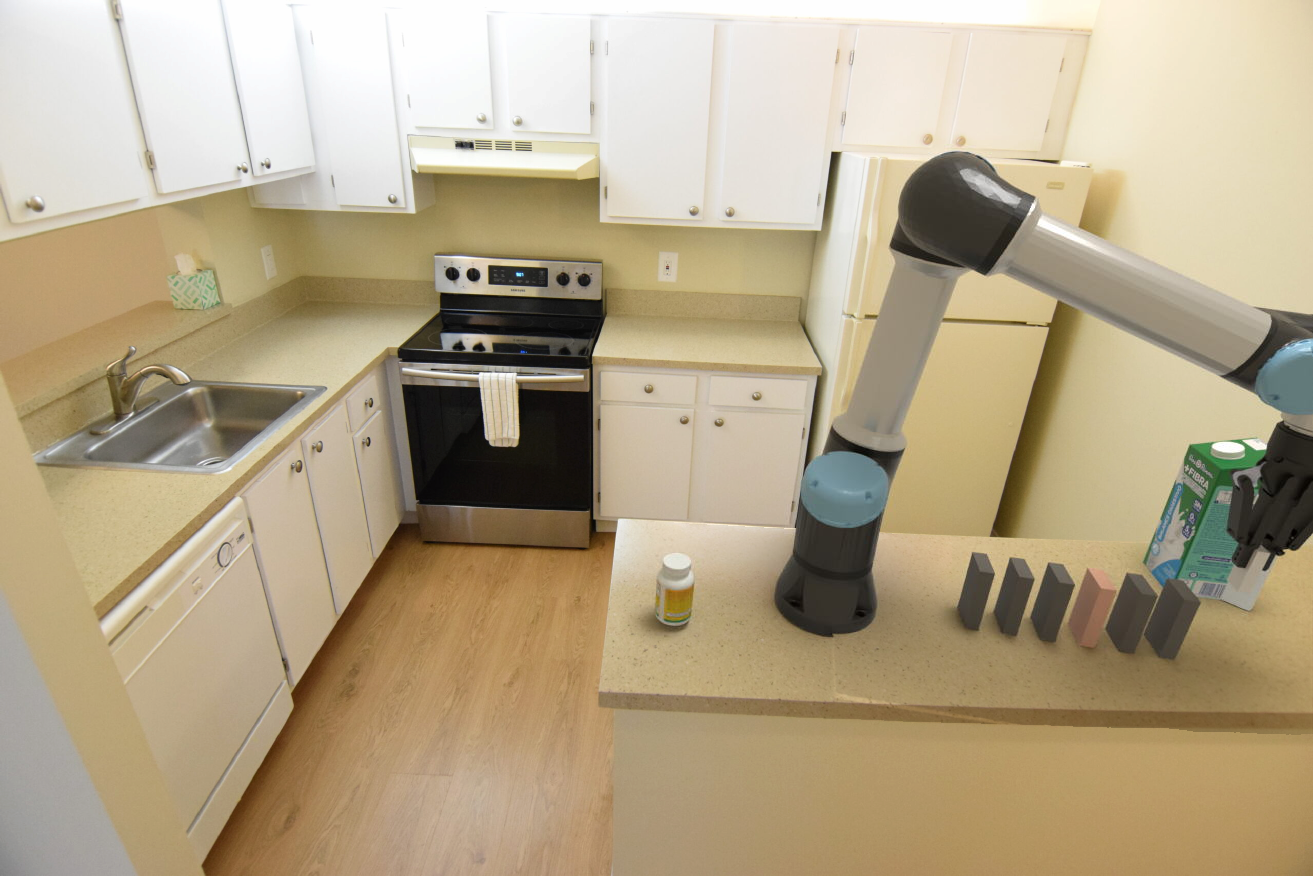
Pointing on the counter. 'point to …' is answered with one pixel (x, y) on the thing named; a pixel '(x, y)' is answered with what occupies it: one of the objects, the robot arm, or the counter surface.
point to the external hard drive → (1246, 599)
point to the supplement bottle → (674, 590)
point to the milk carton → (1201, 517)
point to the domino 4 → (1091, 607)
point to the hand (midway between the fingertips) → (1238, 586)
